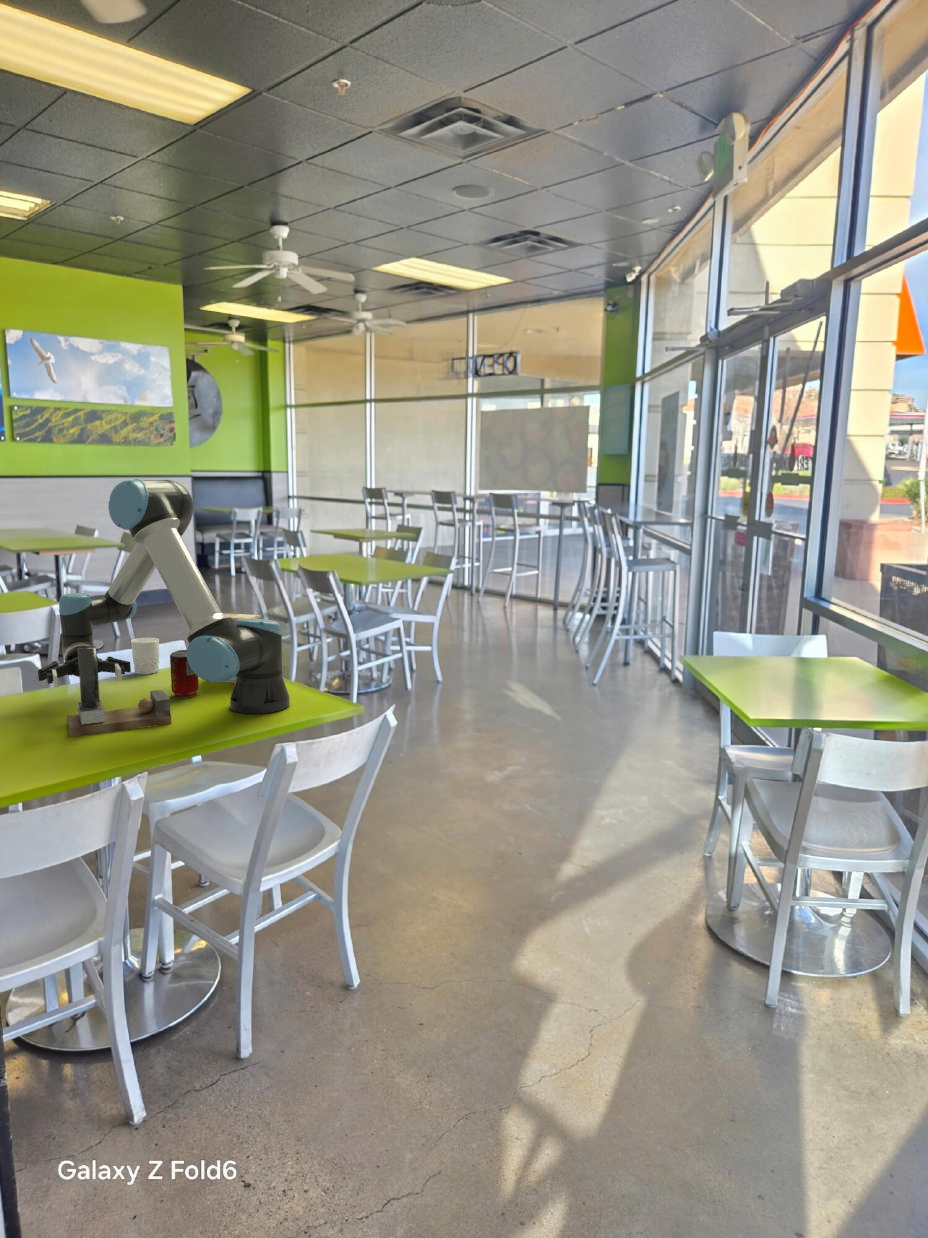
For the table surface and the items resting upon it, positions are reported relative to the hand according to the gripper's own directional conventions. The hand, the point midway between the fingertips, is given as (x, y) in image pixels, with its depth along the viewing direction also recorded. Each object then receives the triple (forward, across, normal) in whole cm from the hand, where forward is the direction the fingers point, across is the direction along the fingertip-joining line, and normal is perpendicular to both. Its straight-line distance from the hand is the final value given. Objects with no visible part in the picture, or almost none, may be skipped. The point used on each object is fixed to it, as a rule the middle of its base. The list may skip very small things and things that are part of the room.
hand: (88, 678), depth 186 cm
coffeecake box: (-32, -41, -13) cm, 53 cm away
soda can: (-21, -25, -13) cm, 35 cm away
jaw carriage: (-2, 0, -10) cm, 10 cm away
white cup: (-53, -20, -13) cm, 58 cm away
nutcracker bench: (-2, -6, -12) cm, 14 cm away
